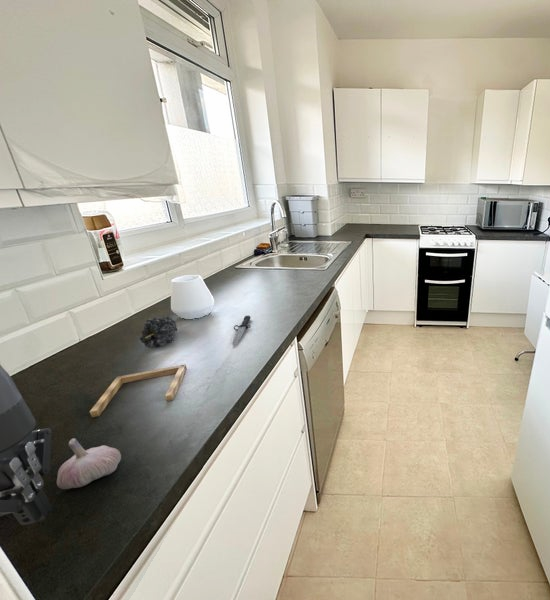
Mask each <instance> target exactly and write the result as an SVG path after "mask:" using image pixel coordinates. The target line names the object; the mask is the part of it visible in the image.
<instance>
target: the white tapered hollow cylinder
mask: <svg viewBox="0 0 550 600" xmlns="http://www.w3.org/2000/svg"><path fill="white" fill-rule="evenodd" d="M214 306H215V298H214V296H213V295H212V293H211V291H210V289H209V288H208V286H207V285H206V283H205V280H204V279H203V277H202V276H201V275H199V274H187V275H180V276H177V277H174V278H173V279H171V281H170V310H171V311H172V313H174V314H175V315H177V316H178V317H179V318H181V319H182V318H185V319H190V318H198V317H201V316H204V315H206V314H208V313H210V312H211V313H212V310H213V309H214ZM211 313H210V314H211Z"/></svg>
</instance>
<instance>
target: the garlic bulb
mask: <svg viewBox="0 0 550 600" xmlns="http://www.w3.org/2000/svg"><path fill="white" fill-rule="evenodd" d="M68 447H69V448H70V449H71V450H72V452H73V453H74V454H73V455H72V456H71V457H70V458H69V459H68V460H66V461H65V462H64V463H62V464H61V466H60V467H59V468H58V471H57V479H56V486H57V487H58V488H59V489H62V490H70V489H77V488H82V487H84V486H87V485H88V484H90V483H92V482H93V481H95V480H98V479H100V478H102V477H106V476H109V475H111V474H112V473H113V472H115V471H116V470H117V468H118V466H119V463H120V462H121V460H122V454H121V452H120V450H119V449H117V448H115V447H110V446H108V445H100V446H96V447H90V448H89V449H85V448H84V447H83V446H82V445H81V443H79V441H78V440H77V438H71V439H70V440H69V442H68Z"/></svg>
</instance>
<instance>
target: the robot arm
mask: <svg viewBox="0 0 550 600" xmlns="http://www.w3.org/2000/svg"><path fill="white" fill-rule="evenodd" d="M36 425H37V421H36V419H35V417H34V415H33V414H32V412H31V410H30V408H29V406H28V404H27V402H26V400H25V399H24V398H23V395H22V394H21V393H20V390H19V389H18V386H17V385H16V383H15V382H14V380H13V378H12V377H11V375H10V374H9V372H8V371H7V370H6V369H5V368H4V367H3V366H2V365H1V364H0V517H3V516H5V515H9V514H12V515H13V516H14V518H15V519H16V521H17V522H18V524H19V525H22V526H29V525H31V524H36V523H39V522H42V521H44V520H45V519H46V518H47V516H48V515H49V513H50V511H51V510H52V509H53V506H52V504H51V502H50V499H49V498H48V496H47V495H46V492H45V491H44V489H43V487H44V483H45V482H44V480H43V478H44V476H46V475H48V474H50V471H51V456H52V454H51V453H52V450H51V449H52V429H51V428H50V427H46V428H41V429H36V430H35V427H36Z"/></svg>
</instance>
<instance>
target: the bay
mask: <svg viewBox="0 0 550 600" xmlns="http://www.w3.org/2000/svg"><path fill="white" fill-rule="evenodd" d="M187 370H188V367H187V364H179V365H174V366H169V367H163V368H157V369H151V370H146V371H142V372H136V373H130V374H125V375H119V376H116V377H115V379H114V380H113V381H112V382H111V384H110V385H109V386H108V387H107V389H106V390H105V391H104V393H103V394H102V395H101V396H100V398H99V399H98V400H97V401H96V403H95V404H94V405H93V406H92V408H91V409H90V410H89V413H90V417H91V418H98V417H100V416H101V415H102V413H103V411H104V410H105V409H106V407H107V406H108V405H109V403H110V402H111V401H112V399H113V398H114V396H115V395H116V394H117V392H118V391H119V390H120V388H121V387H122V385H124V384H126V383H132V382H137V381H143V380H147V379H152V378H158V377H164V376H169V375H174V377H173V379H172V381H171V383H170V385H169V387H168V389H167V391H166V393H165V396H164V397H165V401H166V402H170V401H174V399H175V397H176V394H177V392H178V390H179V388H180V386H181V384H182V381H183V379H184V377H185V375H186V372H187Z"/></svg>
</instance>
